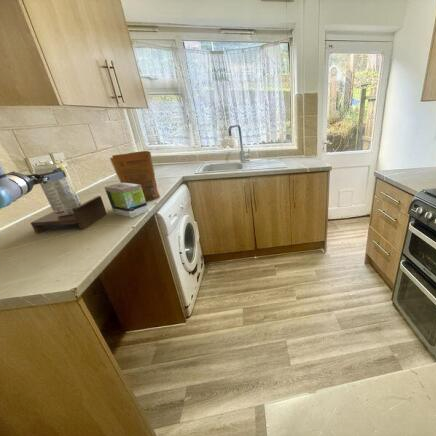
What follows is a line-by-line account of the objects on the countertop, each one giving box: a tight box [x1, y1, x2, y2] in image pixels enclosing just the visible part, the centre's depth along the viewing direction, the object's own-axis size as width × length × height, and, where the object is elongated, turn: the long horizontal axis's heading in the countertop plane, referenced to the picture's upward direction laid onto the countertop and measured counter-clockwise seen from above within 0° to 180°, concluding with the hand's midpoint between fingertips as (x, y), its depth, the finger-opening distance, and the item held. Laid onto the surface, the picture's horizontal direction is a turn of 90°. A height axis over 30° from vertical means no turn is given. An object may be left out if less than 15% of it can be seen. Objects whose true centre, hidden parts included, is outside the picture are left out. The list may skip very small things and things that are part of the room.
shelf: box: [30, 195, 108, 234], centre depth 114 cm, size 20×18×10 cm
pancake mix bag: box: [109, 150, 161, 202], centre depth 138 cm, size 7×19×28 cm, turn 116°
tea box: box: [104, 182, 149, 219], centre depth 123 cm, size 15×10×15 cm, turn 63°
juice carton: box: [33, 160, 82, 217], centre depth 109 cm, size 9×8×24 cm
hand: (38, 172), depth 95 cm, fingers open, 13 cm apart
